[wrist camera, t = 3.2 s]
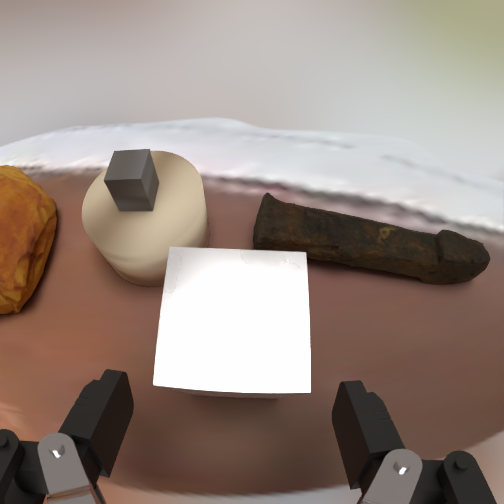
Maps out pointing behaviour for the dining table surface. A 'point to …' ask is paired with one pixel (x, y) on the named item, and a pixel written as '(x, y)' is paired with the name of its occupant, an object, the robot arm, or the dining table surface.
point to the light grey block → (234, 324)
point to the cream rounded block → (145, 213)
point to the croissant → (22, 236)
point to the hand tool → (367, 243)
